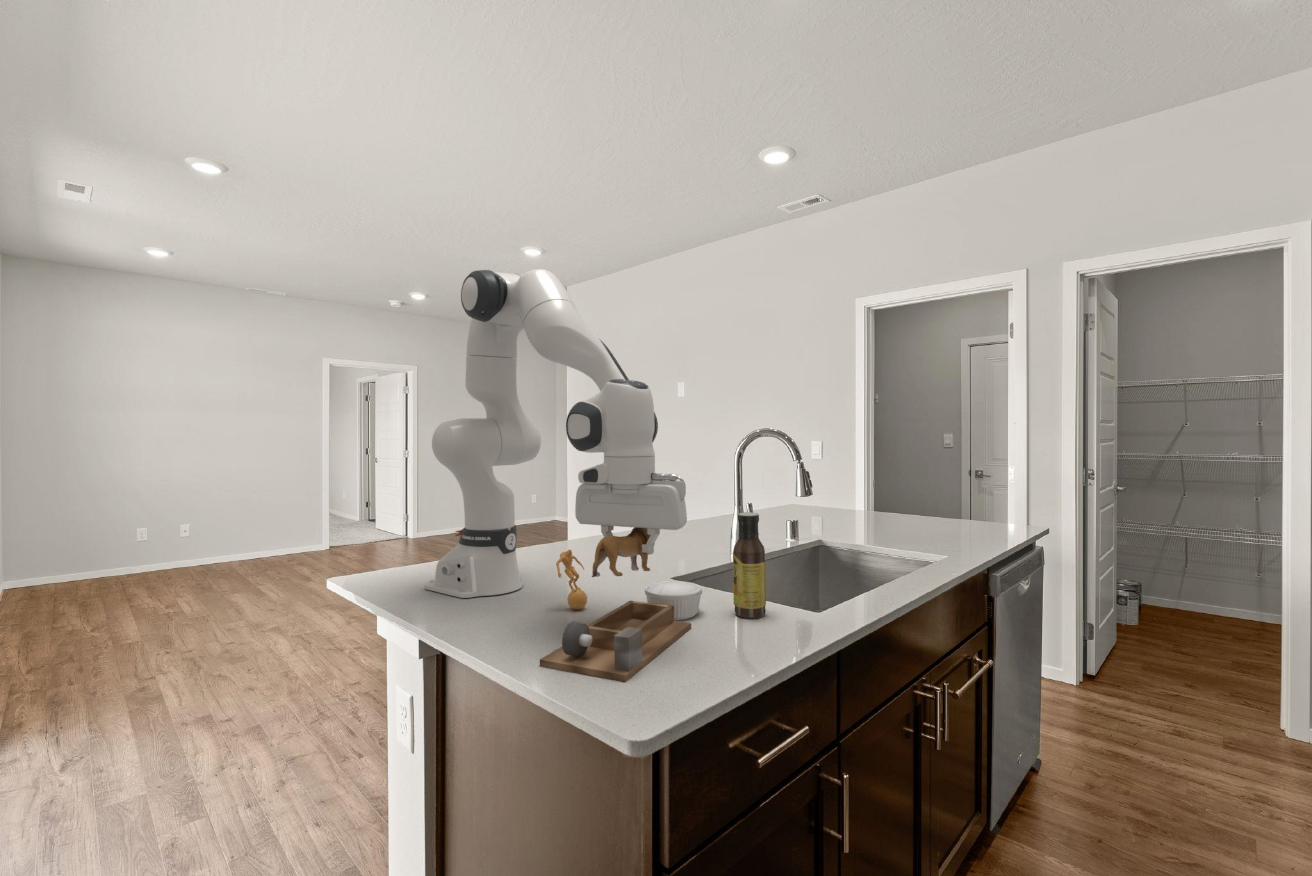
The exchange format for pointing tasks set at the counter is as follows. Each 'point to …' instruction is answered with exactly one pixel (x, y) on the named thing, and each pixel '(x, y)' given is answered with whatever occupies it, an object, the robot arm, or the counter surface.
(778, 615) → the counter surface
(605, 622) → the chassis
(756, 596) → the sauce bottle
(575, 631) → the wheel
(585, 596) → the figurine
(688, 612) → the ramekin
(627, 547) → the lion figurine
